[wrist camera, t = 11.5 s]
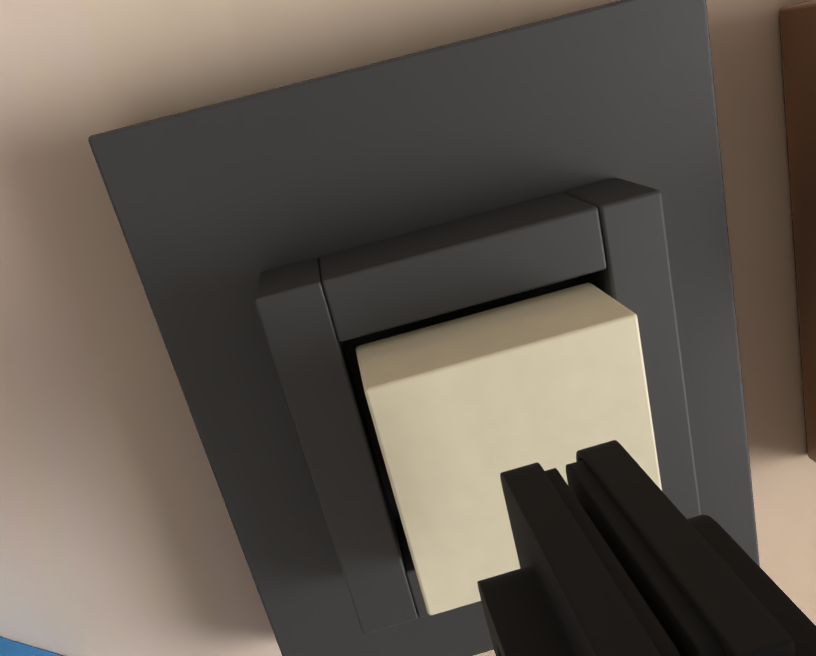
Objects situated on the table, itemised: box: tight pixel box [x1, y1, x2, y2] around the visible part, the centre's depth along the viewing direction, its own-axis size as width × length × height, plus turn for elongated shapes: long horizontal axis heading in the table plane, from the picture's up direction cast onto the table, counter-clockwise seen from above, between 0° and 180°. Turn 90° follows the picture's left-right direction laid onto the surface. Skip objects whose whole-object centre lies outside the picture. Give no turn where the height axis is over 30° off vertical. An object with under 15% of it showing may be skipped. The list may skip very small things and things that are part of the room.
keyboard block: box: [88, 0, 760, 656], centre depth 16 cm, size 14×12×4 cm
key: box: [356, 283, 662, 615], centre depth 14 cm, size 5×5×2 cm
